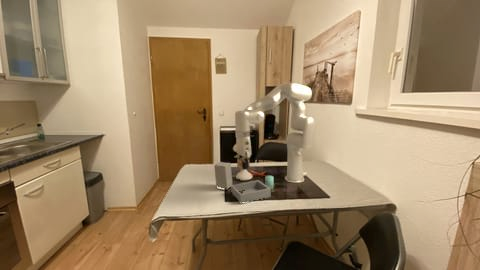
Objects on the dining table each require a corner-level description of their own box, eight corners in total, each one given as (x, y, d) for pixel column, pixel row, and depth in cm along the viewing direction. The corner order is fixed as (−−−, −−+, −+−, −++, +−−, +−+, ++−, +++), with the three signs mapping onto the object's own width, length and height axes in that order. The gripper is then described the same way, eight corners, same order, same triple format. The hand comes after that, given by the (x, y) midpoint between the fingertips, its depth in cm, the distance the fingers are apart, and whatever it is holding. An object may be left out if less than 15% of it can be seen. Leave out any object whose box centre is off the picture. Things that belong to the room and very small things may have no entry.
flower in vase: (252, 176, 149) (252, 141, 145) (252, 182, 138) (251, 144, 134) (234, 175, 151) (233, 141, 147) (232, 181, 139) (231, 144, 135)
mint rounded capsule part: (270, 185, 132) (270, 175, 131) (275, 188, 127) (275, 177, 126) (263, 187, 130) (263, 176, 129) (267, 190, 125) (267, 179, 124)
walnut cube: (245, 166, 118) (245, 157, 117) (249, 168, 113) (249, 159, 113) (237, 167, 116) (237, 158, 115) (241, 170, 111) (240, 161, 111)
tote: (258, 187, 129) (258, 180, 128) (270, 197, 116) (270, 188, 115) (230, 193, 122) (230, 185, 121) (240, 204, 109) (240, 195, 108)
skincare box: (233, 187, 130) (232, 162, 128) (226, 192, 124) (225, 166, 122) (221, 185, 135) (220, 161, 132) (215, 189, 129) (213, 164, 126)
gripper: (256, 135, 106) (257, 170, 108) (242, 131, 121) (243, 162, 124) (243, 137, 103) (243, 173, 105) (230, 132, 118) (231, 164, 121)
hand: (243, 166), depth 115 cm, fingers closed on walnut cube, 5 cm apart
